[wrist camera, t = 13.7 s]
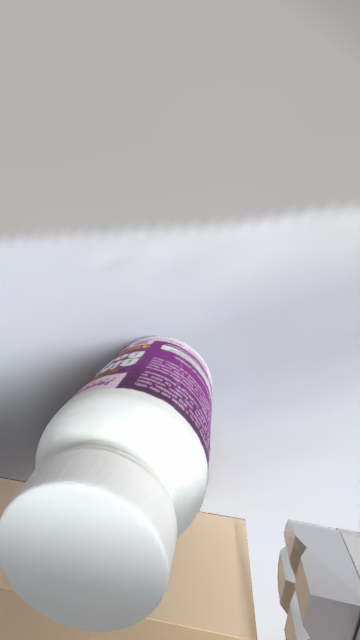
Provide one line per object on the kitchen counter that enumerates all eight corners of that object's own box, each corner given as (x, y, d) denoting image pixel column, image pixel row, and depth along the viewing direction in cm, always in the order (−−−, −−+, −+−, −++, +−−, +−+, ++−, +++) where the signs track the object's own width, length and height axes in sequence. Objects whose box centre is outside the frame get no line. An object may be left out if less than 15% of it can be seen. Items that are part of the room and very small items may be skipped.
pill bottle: (142, 312, 15) (22, 400, 6) (232, 369, 15) (255, 545, 6) (93, 396, 17) (-70, 577, 7) (177, 448, 17) (124, 696, 7)
